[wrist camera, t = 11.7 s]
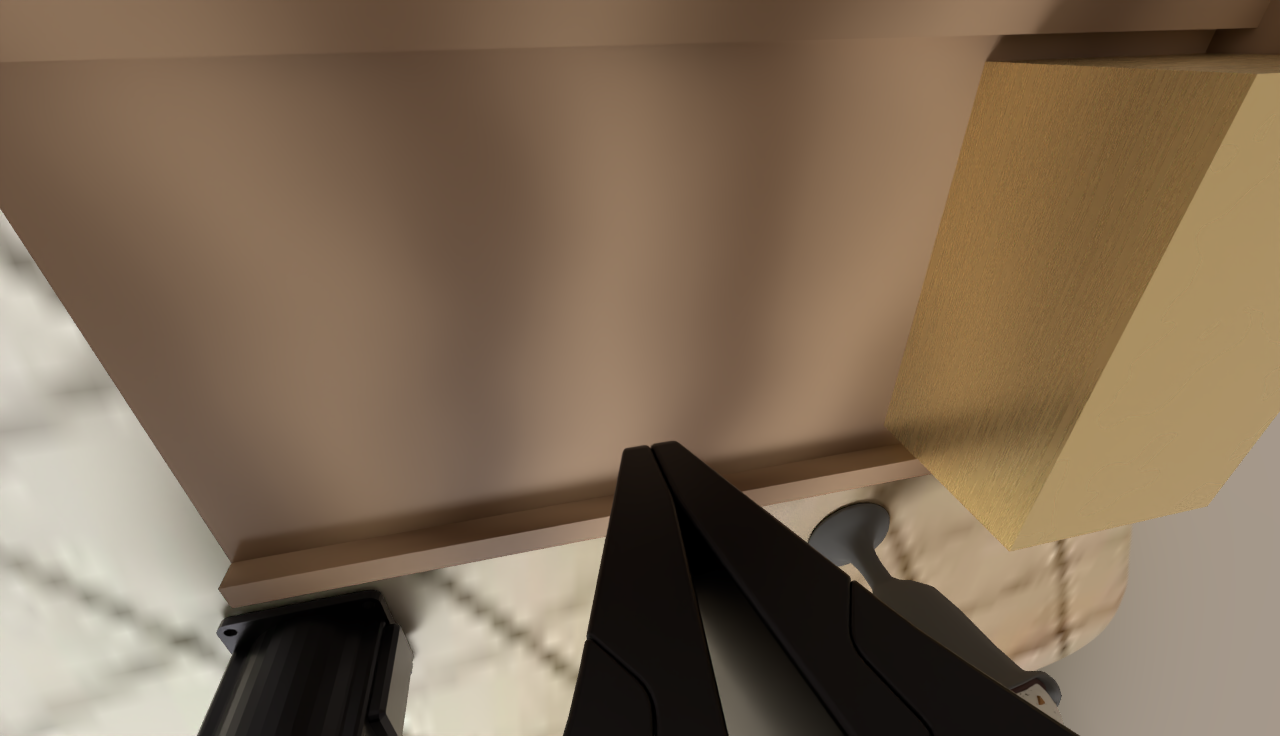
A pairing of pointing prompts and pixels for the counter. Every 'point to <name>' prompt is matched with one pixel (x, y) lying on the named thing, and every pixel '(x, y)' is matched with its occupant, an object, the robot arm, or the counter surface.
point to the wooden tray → (506, 243)
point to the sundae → (925, 603)
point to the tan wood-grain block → (1100, 293)
